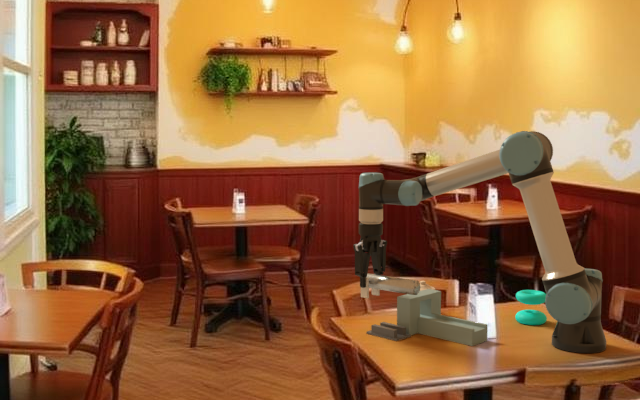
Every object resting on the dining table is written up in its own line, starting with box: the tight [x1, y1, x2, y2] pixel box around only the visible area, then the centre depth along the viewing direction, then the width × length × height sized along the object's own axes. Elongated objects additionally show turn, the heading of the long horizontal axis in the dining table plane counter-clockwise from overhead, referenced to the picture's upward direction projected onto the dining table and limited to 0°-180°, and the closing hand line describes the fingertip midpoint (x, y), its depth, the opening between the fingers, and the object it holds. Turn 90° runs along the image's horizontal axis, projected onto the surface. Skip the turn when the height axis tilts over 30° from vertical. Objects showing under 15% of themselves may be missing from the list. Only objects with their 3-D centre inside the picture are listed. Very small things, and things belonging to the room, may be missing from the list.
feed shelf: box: [417, 313, 488, 347], centre depth 232 cm, size 20×8×5 cm, turn 45°
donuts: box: [514, 289, 548, 326], centre depth 249 cm, size 10×10×10 cm
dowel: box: [367, 273, 420, 295], centre depth 233 cm, size 20×4×4 cm, turn 46°
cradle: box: [365, 321, 412, 342], centre depth 234 cm, size 12×7×3 cm, turn 45°
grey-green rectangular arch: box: [396, 289, 442, 336], centre depth 241 cm, size 5×16×11 cm, turn 135°
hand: (370, 296), depth 239 cm, fingers closed on dowel, 4 cm apart
